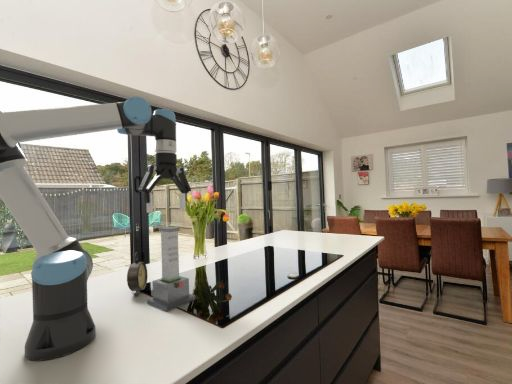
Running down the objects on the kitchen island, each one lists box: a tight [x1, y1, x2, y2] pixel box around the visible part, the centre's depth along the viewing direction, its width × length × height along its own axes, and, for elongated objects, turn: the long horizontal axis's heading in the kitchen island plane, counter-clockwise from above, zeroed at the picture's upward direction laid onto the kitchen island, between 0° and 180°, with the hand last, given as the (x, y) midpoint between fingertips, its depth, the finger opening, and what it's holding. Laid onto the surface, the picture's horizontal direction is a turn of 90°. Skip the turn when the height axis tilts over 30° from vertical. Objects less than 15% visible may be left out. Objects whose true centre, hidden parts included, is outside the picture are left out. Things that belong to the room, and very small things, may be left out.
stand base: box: [146, 275, 196, 313], centre depth 96 cm, size 12×12×8 cm
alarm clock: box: [126, 251, 148, 297], centre depth 106 cm, size 11×5×16 cm, turn 5°
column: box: [158, 226, 181, 283], centre depth 96 cm, size 4×6×19 cm
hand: (167, 211), depth 96 cm, fingers open, 13 cm apart
